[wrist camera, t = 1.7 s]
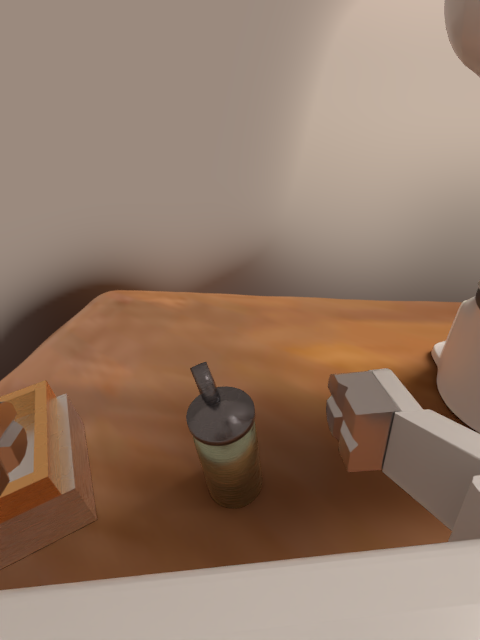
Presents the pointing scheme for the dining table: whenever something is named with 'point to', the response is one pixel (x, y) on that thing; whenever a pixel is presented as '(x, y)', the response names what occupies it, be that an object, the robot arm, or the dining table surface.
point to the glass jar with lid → (225, 440)
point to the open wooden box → (45, 475)
